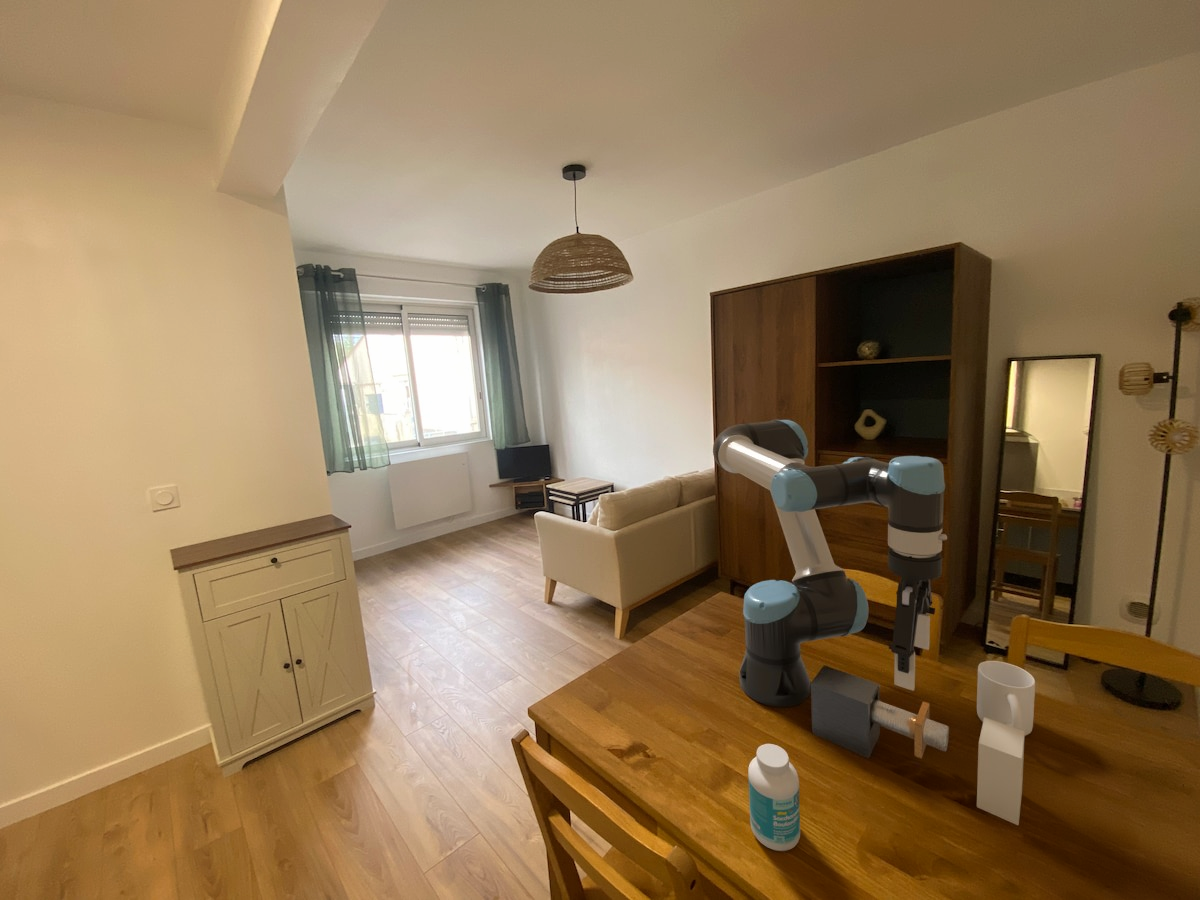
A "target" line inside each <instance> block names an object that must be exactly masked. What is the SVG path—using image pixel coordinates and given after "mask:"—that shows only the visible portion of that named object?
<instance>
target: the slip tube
mask: <svg viewBox="0 0 1200 900" xmlns="http://www.w3.org/2000/svg"><path fill="white" fill-rule="evenodd" d="M930 705H931V704H930V703H929V702H926V701H922V703H921V705H920V708H919V711H918V713H913V712H910V711H908V710H905V709H902V708H901V707H897V706H894V705H891V704H888V703H886V702H883V701H881V700H879V701H878V700H875V699H874V700H873V701H872V703H871V705H870V722H872V723H875V724H877V725H879V727H883V728H885V729H887V730H890V731H892V732H895V733H898V734H900V735H903V736H905V737H908V738H910V739H913V740H914V752H913V753H914V755H913V756H914V757H917V758H919V759H923V755H924V752H925V750H926V747H927V745H928V746H930V747H933V748H936V749H937V750H940V751H943V752H947V750H948V745H949V740H950V739H949V738H950V736H949V735H950V727H949V725H946V724H943V723H940V722H938V721H935V720H932V719H930V716H931V714H930V710H931V709H930V707H931V706H930Z"/></svg>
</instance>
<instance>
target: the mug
mask: <svg viewBox="0 0 1200 900" xmlns="http://www.w3.org/2000/svg"><path fill="white" fill-rule="evenodd" d="M976 686H977V687H976V688H977V690H976V691H977V692H976V693H977V694H976V712H977V713H976V714H977V716H978V718H979V720H980V721H981V722H982V723H983V721H984V717H985V718H988V719H991V720H994V721H997V722H1000V723H1003V724H1006V725H1009V726H1012V727H1015V728H1017V729H1020V730H1023V731H1025V736H1028V735H1029V734H1031V733H1032V731H1033V728H1034V715H1035V714H1034V712H1035V711H1034V710H1035V694H1036V680H1035V678H1034V676H1033V675H1032V674H1031V673H1030V672H1029V671H1027V670H1025V669H1023V668H1022V667H1019V666H1017V665H1014V664H1012V663H1008V662H1005V661H1004V662H1003V661H997V660H987V661H983V662H982V661H981V662H980V663H978V666H977V685H976Z"/></svg>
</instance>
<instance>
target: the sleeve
mask: <svg viewBox="0 0 1200 900" xmlns="http://www.w3.org/2000/svg"><path fill="white" fill-rule="evenodd" d="M810 694H811V695H810V698H811V729H812V731H811V732H812V735H815V736H817V737H819V738H821V739H824V740H825V741H828V742H830V743H833V744H834V745H837V746H839V747H842V748H844V749H846V750H848V751H851V752H853V753H855V754H857V755H860V756H861V757H864V758H866V759H870V757H871V754H872V752H873V750H874V748H875V746H876V745H877V742H878V740H879V738H880V725H877V724H875V723H872V722H870V705H871V703H872V701H873V700H874V699H875V700H878V701H880V683H877V682H874V681H872V680H870V679H865V678H863V677H860V676H857V675H853V674H851V673H848V672H845V671H842V670H840V669H836V668H834V667H830V666H828V665H823V666H821V668H820V670H819V671H818V673H816V675H815V677H814V678H813V679H812V681H810Z"/></svg>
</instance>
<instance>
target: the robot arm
mask: <svg viewBox="0 0 1200 900" xmlns="http://www.w3.org/2000/svg"><path fill="white" fill-rule="evenodd" d="M808 445H809V443H808V438H807V435H806V433H805V431H804V430H803V428H802V426H800V425H799V424H798V423H797V422H795V421H792V420H790V419H772V420H769V421H760V422H752V423H750V422H749V423H742V424H741V423H740V424H734V425H732V426H729V427H727V428H726V429H725V428H724V430H723V431H721V432H720V433H719V434H718V435H717V437H716V439H715V440H714V441H713V447H712V454H713V455H712V456H713V459H714V460H715V462H716V464H717V465H718V466H719V467H721V468H722V469H723V470H725V471H727V472H729V473H732V474H741V475H742V476H744V477H746V478H748V479H749V480H751V481H753V482H754V483H756V484H758V485H760V486H761V487H763V488H765V489H766V490H768V491H770V495H771V498H772V500H773V505H774V507H775V510H776V513H777V516H778V518H779V523H780V526H781V529H782V532H783V535H784V538H785V541H786V544H787V548H788V550H789V553H790V557H791V559H792V563H793V566H794V570H795V575H794V576H793V578H792V580H791V581H792V582H790V581H787V580H781V579H780V580H776V579H769V580H761V581H760V582H757V583H754V584H753V585H752V586H749V588H748V589H747V590H746V592H745V593H744V597H743V607H742V608H743V609H742V614H743V619H744V620H743V621H744V633H745V634H744V637H745V653H744V656H743V658H742V662H741V665H740V668H739V686H740V687H741V689H742V691H743V692H744V693H745V694H746V695H747V696H748V697H749V698H751V699H752V700H754V701H756V702H758V703H760V704H763V705H766V706H770V707H775V708H788V707H794V706H797V705H800V704H802V703H804V702H806V700H807V699H808V698H809V696H810V694H811V681H810V679H811V678H810V676H809V674H808V671H807V668H806V667H805V664H804V661H803V658H802V656H801V655H802V654H801V644H802V643H804V642H805V643H806V642H813V641H818V640H825V639H830V638H837V637H843V638H844V637H847V636H849V635H852V634H856V633H859V632H861V631H862V630H863V629H864V628H865V626H866V624H867V622H868V621H867V620H868V618H869V602H868V598H867V595H866V593H865V591H864V588H863V587H862V586H861V585H860V584H859V582H858V581H856V580H855V579H852V578H848V577H847V575H846V572H845V569H844V568H843V567H840V566H838V565H836V564H835V562H834V559H833V557H832V554H831V552H830V551H831V550H830V549H829V544H828V542H827V540H826V537H825V534H824V532H823V528H822V526H821V523H820V520H819V517H818V515H817V512H816V510H819V509H826V508H832V507H841V506H849V505H850V506H851V505H855V504H856V505H857V504H864V503H873V504H876V505H879V506H881V507H885V508H888V520H887V521H888V522H887V545H888V547H889V548H888V550H887V567H888V569H889V571H890V572H892V573H893V574H895V575H897V576H898V577H900V578H901V581H900V582H898V584H897V590H896V592H895V594H896V604H895V605H896V606H895V615H894V625H893V632H892V634H893V635H892V644H888V649H889V650H891V653H893V654H894V671H893V672H894V674H893V675H894V677H893V678H894V680H893V682H894V683H893V684H894V686H898V687H900V688H903V689H907V690H910V691H915V685H916V683H915V682H916V681H915V680H916V651H915V650H914V648H915V647H916V648H919V649H923V650H926V651H929V649H930V632H931V631H930V628H931V627H930V624H931V615H933V616H934V615H935V614H936V608H935V607H932V605H933V601H932V600H933V599H932V588H931V587H932V586H931V580H935V579H938V578H940V577H941V575H942V573H943V571H942V570H943V555H942V554H941V552H942V551H943V541H946V540H948V536H947V534H945V533H943V527H944V522H943V521H944V505H945V504H944V500H945V488H946V483H945V474H944V473H945V471H944V465H943V463H942V462H941V461H940V460H939V459H937V458H934V457H931V456H930V457H929V456H920V455H903V456H897V457H894V458H891V460H890V461H889V462H885V461H880V460H877V459H875V458H873V457H862V456H854V457H850V458H848V459H847V460H845V461H844V462H842V463H838V464H830V465H829V464H828V465H820V466H808V465H806V463H805V460H806V458H807V456H808V454H809V448H808Z"/></svg>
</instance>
